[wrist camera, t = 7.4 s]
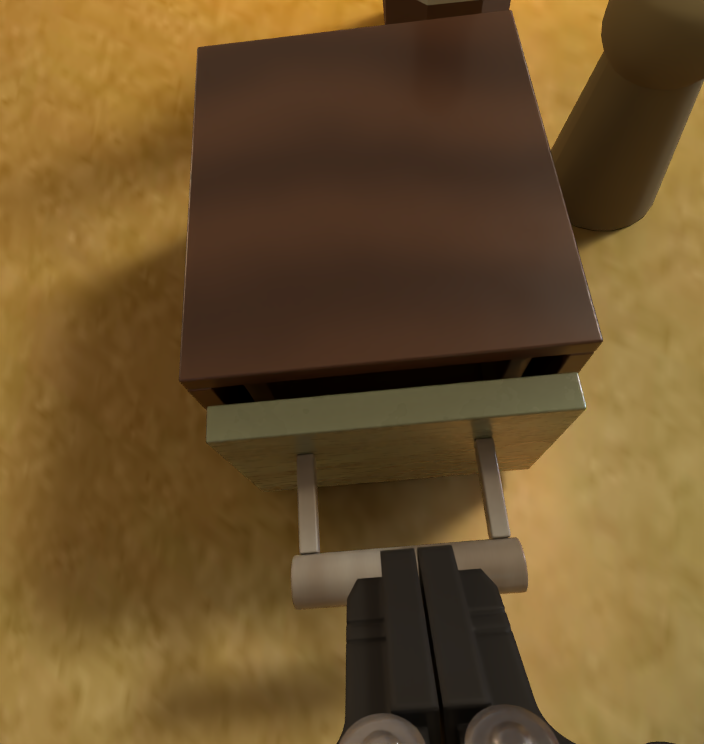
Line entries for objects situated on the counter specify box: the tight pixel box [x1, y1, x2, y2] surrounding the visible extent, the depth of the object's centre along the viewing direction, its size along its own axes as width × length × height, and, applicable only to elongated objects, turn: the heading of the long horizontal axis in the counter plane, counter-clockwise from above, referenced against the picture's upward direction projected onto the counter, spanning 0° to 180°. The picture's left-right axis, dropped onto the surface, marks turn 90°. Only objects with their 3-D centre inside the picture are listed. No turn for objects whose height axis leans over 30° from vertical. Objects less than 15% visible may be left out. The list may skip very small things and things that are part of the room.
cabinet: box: [179, 10, 603, 410], centre depth 24 cm, size 15×13×10 cm
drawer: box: [206, 358, 586, 610], centre depth 22 cm, size 18×11×8 cm, turn 4°
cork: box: [551, 0, 704, 230], centre depth 25 cm, size 6×6×11 cm
